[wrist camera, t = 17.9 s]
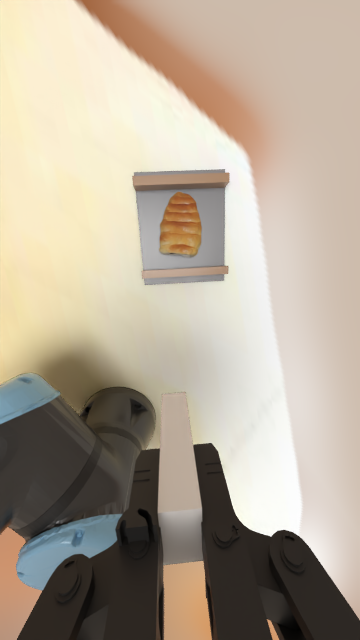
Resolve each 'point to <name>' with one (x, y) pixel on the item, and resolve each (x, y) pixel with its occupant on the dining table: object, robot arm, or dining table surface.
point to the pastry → (180, 227)
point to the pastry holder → (211, 209)
